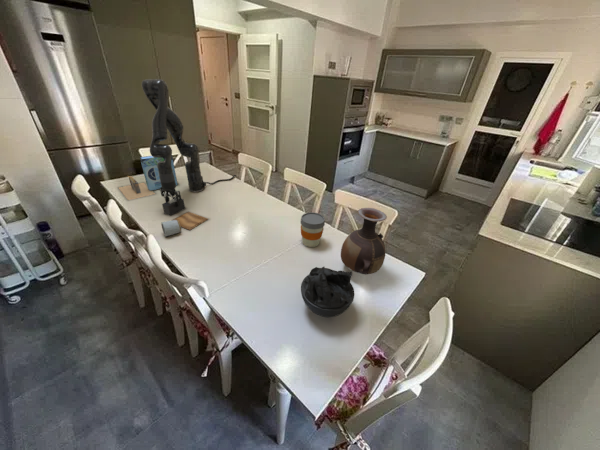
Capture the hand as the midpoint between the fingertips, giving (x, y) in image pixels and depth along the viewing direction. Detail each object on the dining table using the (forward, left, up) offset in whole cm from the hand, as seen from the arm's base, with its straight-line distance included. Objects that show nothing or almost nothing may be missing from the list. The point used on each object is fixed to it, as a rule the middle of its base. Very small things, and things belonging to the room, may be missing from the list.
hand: (173, 205), depth 153 cm
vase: (-6, +115, -5) cm, 115 cm away
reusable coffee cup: (-14, +86, -5) cm, 87 cm away
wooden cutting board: (+4, +16, -4) cm, 17 cm away
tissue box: (0, 0, -4) cm, 4 cm away
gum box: (-20, -35, -4) cm, 41 cm away
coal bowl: (+23, +109, -5) cm, 112 cm away
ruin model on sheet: (-6, -45, -4) cm, 45 cm away
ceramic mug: (+17, +17, -5) cm, 25 cm away
